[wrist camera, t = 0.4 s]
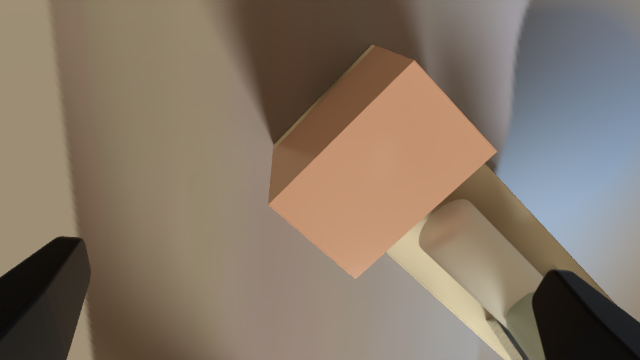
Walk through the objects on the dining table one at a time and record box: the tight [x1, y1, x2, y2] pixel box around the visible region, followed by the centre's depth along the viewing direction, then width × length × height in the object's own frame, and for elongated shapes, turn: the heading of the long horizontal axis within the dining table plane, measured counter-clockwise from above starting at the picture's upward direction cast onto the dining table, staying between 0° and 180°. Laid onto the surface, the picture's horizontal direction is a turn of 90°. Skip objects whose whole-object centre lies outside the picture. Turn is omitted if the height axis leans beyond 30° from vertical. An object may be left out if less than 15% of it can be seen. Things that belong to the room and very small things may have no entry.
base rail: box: [273, 44, 615, 360], centre depth 27 cm, size 7×26×1 cm, turn 45°
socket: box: [268, 46, 497, 279], centre depth 20 cm, size 7×4×7 cm, turn 135°
